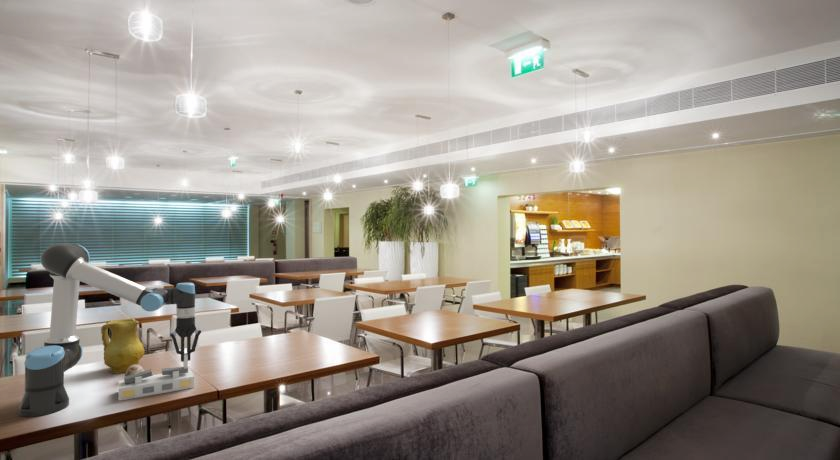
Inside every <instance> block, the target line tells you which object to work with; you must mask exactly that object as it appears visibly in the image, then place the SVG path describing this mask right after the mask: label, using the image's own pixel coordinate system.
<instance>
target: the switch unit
mask: <svg viewBox="0 0 840 460" xmlns="http://www.w3.org/2000/svg"><path fill="white" fill-rule="evenodd" d="M174 367H175V366H173V367H171V368H174ZM192 371H193V370H191V369H189V368H188V373H181V374H179V371H173V374H171V375H162V373H158V374H152V376H150V377H146V378H143V379H142V376H141V377H135V381H133V382H130V383H126V384H125V381H124V379H119V380H118V401H125V400H132V399H137V398H142V397H149V396H155V395H160V394H164V393H172V392H176V391H183V390H187V389H189V390H190V389H194V388H195V375H194V373H193V372H192ZM138 373H139V372H138ZM135 374H136V373H135Z"/></svg>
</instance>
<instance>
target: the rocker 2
mask: <svg viewBox="0 0 840 460" xmlns="http://www.w3.org/2000/svg"><path fill="white" fill-rule="evenodd" d="M173 367H174V368H172V367H164V368H161V374H162V375H171V374H173V371H179V374H181V373H188V370H189V367H188V368H186V369H184V367H183V366H173Z"/></svg>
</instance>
